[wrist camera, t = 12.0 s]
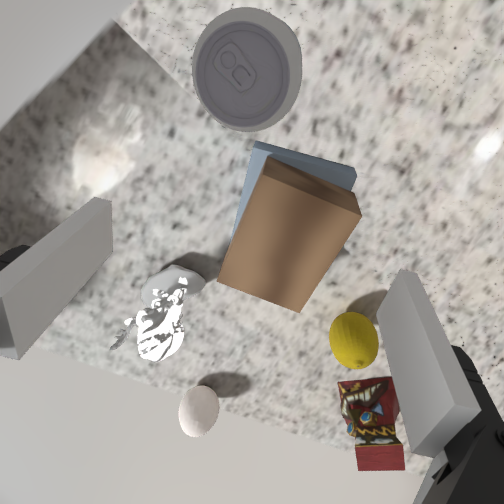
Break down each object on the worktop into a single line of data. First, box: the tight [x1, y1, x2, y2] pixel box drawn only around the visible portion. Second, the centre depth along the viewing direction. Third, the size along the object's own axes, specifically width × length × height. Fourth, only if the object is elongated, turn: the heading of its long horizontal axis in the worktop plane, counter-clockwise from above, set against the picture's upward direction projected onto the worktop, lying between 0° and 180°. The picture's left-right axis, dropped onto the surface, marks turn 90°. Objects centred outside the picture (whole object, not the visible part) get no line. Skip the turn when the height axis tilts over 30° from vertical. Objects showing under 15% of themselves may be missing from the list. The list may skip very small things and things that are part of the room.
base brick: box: [230, 141, 357, 243], centre depth 37 cm, size 10×14×3 cm
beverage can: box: [192, 7, 302, 132], centre depth 25 cm, size 7×7×12 cm
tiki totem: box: [338, 377, 405, 471], centre depth 48 cm, size 9×9×9 cm
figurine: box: [110, 265, 205, 362], centre depth 39 cm, size 9×6×12 cm
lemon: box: [329, 312, 379, 369], centre depth 41 cm, size 6×6×8 cm
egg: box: [179, 385, 220, 437], centre depth 53 cm, size 6×6×8 cm
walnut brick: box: [217, 156, 362, 313], centre depth 34 cm, size 9×12×5 cm
